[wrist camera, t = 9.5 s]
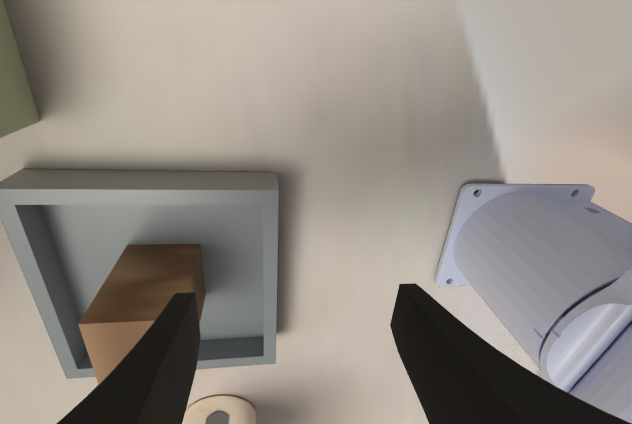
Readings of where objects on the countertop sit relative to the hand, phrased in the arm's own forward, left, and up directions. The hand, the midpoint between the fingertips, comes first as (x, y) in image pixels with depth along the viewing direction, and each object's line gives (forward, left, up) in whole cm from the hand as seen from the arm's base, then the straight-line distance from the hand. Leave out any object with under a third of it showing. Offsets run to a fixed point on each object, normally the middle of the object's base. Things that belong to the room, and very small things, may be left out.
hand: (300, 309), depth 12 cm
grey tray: (+7, +5, -9) cm, 13 cm away
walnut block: (+7, +5, -9) cm, 12 cm away
